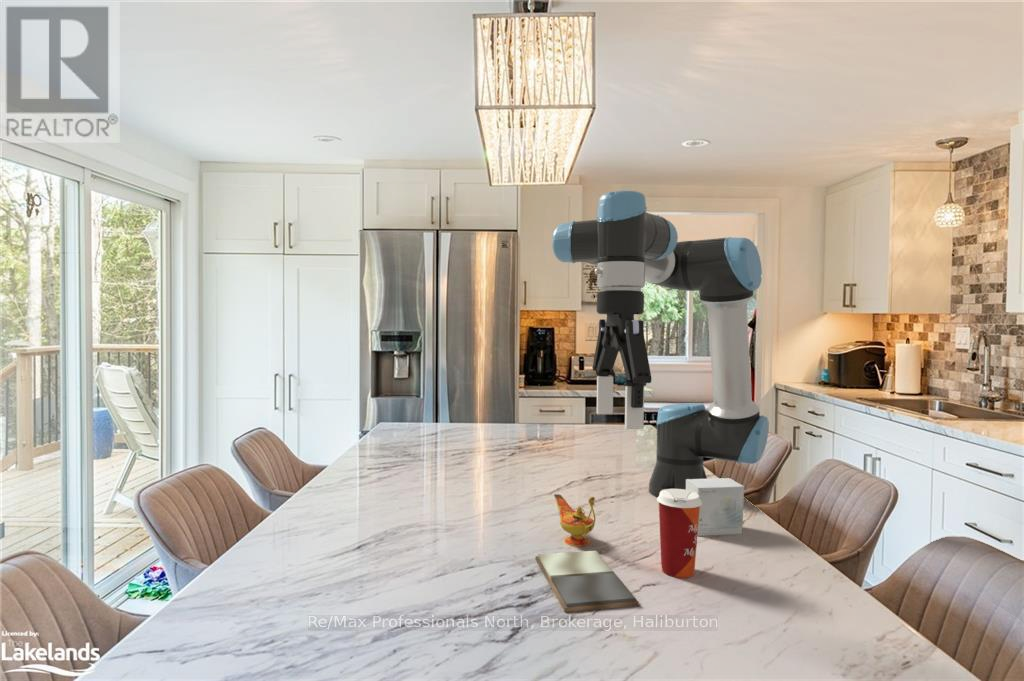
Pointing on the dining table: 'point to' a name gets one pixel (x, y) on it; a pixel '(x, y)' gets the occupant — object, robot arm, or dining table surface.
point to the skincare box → (718, 505)
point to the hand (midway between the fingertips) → (618, 420)
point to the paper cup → (678, 531)
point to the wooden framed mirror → (584, 581)
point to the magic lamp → (575, 522)
